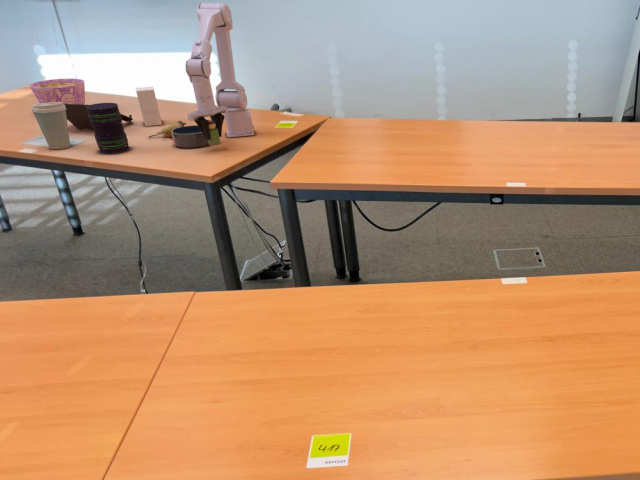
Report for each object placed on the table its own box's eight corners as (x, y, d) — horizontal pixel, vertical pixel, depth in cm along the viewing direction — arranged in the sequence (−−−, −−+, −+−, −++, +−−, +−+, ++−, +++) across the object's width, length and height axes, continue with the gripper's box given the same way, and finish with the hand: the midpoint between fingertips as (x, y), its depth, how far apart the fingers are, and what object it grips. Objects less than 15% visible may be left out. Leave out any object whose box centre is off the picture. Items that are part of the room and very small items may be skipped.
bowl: (212, 137, 269) (208, 123, 266) (213, 146, 259) (210, 132, 256) (174, 141, 265) (170, 127, 262) (174, 150, 255) (171, 135, 252)
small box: (162, 124, 285) (153, 89, 278) (145, 126, 283) (135, 91, 276) (161, 120, 292) (152, 86, 284) (144, 122, 289) (134, 87, 282)
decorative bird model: (175, 130, 264) (184, 116, 270) (143, 135, 266) (153, 121, 272) (181, 141, 267) (190, 127, 274) (149, 145, 269) (159, 131, 275)
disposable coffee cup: (39, 147, 258) (24, 102, 250) (71, 141, 265) (57, 98, 257) (50, 152, 252) (35, 107, 244) (82, 146, 259) (69, 102, 251)
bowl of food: (77, 118, 295) (68, 88, 288) (29, 118, 295) (18, 87, 289) (101, 107, 311) (93, 78, 305) (55, 107, 312) (46, 78, 305)
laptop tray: (139, 139, 290) (139, 115, 289) (98, 125, 267) (98, 99, 266) (87, 136, 293) (87, 113, 292) (42, 122, 270) (42, 96, 269)
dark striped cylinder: (133, 145, 260) (120, 102, 252) (127, 153, 252) (114, 108, 243) (103, 147, 258) (89, 103, 250) (96, 155, 250) (82, 109, 242)
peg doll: (220, 141, 257) (215, 118, 252) (221, 144, 254) (216, 120, 249) (208, 142, 256) (203, 119, 251) (209, 145, 252) (203, 121, 248)
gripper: (192, 102, 239) (202, 144, 247) (229, 94, 249) (238, 135, 257) (180, 99, 243) (189, 141, 250) (217, 92, 252) (225, 132, 260)
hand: (213, 137), depth 253 cm, fingers closed on peg doll, 4 cm apart
